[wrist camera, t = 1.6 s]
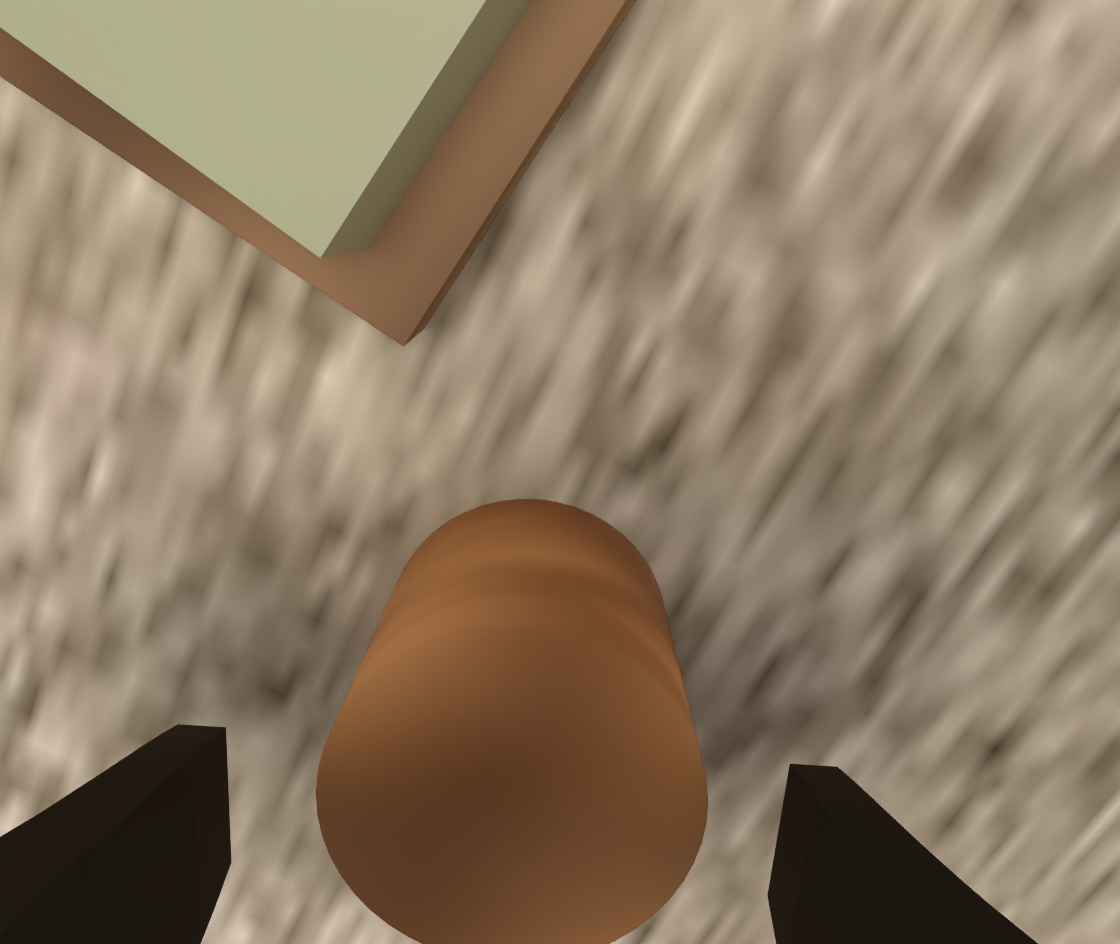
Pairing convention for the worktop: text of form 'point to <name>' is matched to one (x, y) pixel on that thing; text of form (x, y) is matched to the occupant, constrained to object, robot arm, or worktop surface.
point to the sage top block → (282, 92)
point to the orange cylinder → (516, 739)
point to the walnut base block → (434, 195)
